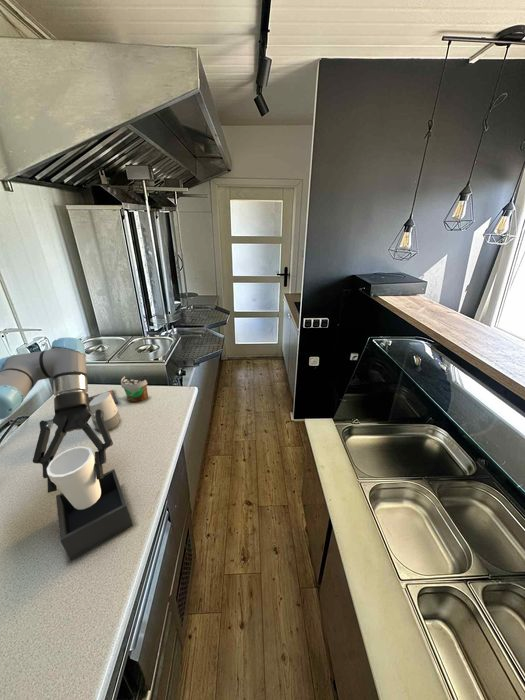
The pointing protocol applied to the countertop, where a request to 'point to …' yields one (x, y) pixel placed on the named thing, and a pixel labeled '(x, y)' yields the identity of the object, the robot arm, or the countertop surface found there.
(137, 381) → the food container
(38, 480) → the countertop surface
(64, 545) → the dark grey open box
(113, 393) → the calculator
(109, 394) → the smart speaker
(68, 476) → the foam cup
